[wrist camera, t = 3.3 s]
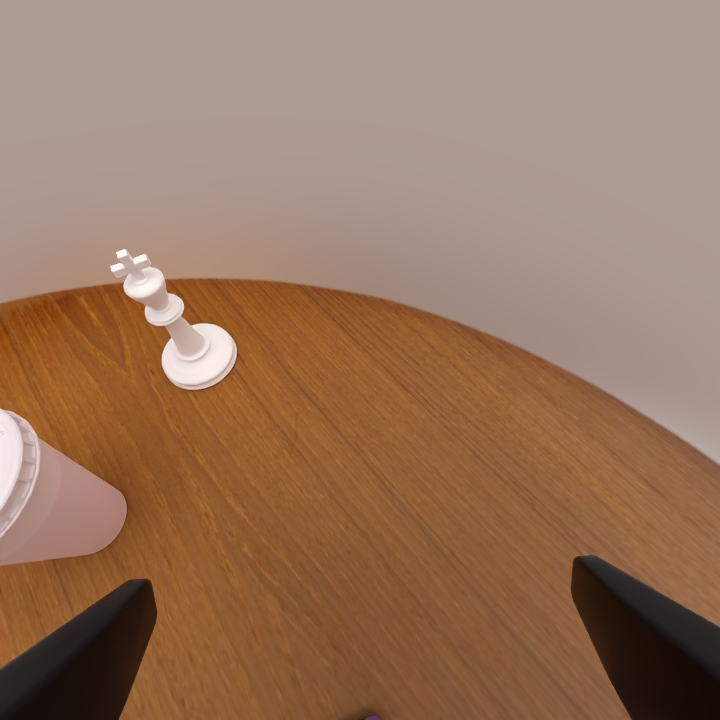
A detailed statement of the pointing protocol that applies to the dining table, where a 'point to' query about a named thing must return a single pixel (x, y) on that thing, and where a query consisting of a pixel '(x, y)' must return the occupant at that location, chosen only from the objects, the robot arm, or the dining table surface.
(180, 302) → the chess piece
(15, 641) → the dining table surface
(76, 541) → the smoothie
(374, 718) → the knife
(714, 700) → the robot arm
